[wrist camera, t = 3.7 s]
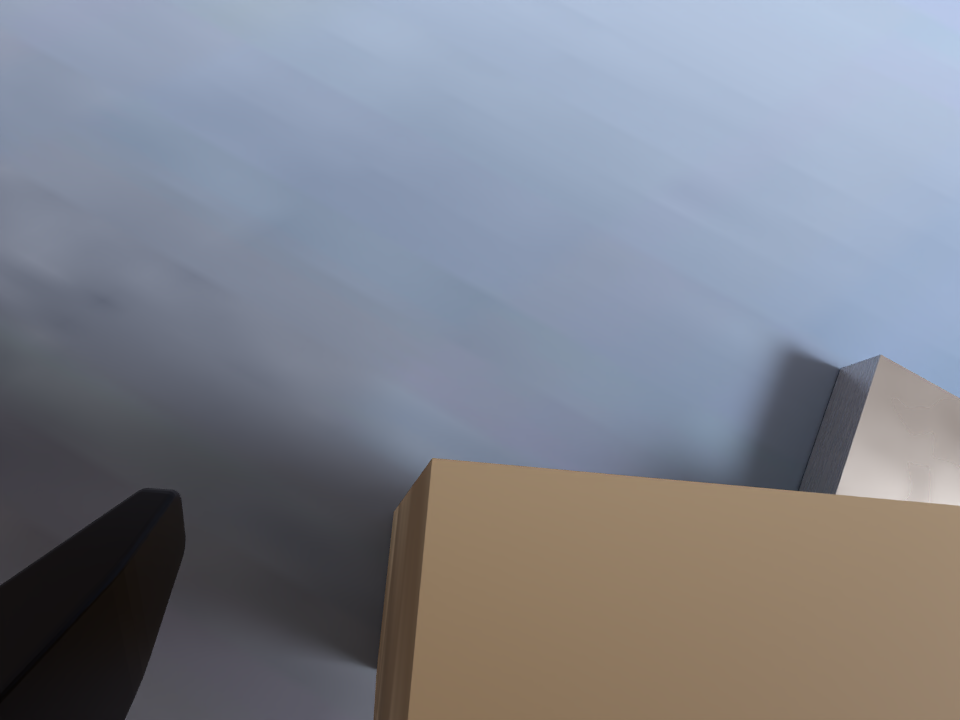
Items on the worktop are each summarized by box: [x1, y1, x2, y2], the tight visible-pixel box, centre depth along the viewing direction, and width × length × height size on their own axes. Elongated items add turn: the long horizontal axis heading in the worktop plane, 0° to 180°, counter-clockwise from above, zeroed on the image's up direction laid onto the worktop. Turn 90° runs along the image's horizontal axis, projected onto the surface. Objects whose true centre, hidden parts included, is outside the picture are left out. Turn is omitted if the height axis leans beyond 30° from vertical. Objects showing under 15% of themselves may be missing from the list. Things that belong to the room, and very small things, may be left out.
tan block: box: [374, 458, 960, 720], centre depth 8 cm, size 4×4×13 cm
